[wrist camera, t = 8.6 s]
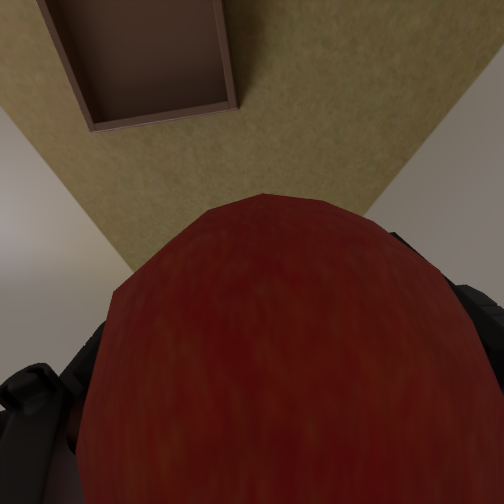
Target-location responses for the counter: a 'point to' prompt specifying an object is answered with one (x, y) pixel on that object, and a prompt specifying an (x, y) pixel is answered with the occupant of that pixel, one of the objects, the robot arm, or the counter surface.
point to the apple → (290, 371)
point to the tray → (144, 59)
